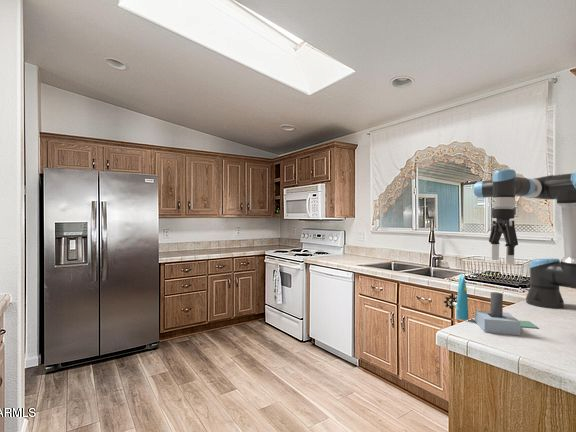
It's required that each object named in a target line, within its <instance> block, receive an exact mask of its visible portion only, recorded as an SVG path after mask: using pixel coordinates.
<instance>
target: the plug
mask: <svg viewBox="0 0 576 432" xmlns="http://www.w3.org/2000/svg"><path fill="white" fill-rule="evenodd" d="M503 296H504V295H503V293H501V292H498V291H497V292H496V291H494V292H493V291H491V292H490V311H491V317H495V318H503V312H504V311H503V310H504V309H503V300H504V299H503Z"/></svg>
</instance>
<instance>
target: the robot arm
mask: <svg viewBox="0 0 576 432" xmlns="http://www.w3.org/2000/svg"><path fill="white" fill-rule="evenodd" d="M473 194H474V196H475V197H477V198H484V199H485V198H492V199H491V201H490V202H491V203H492V206H491V207H492V208H493V209H492V210H491V211H492V212H491V218H492V219H496V220H492V222H491V223H492V225H491V230H490V233H489V239H488V243H490V260H491V261H499V259H500V244H501V243H500V240H501V237H502V236H503V238H504V241H505V243H506V244H504V247H505V252H504V253H505V254H504V255H505V258H504V264H505V265H515V250H516V249H515V248H516V246H518V245H519V242H518V236H517V232H516V226H515V220H512V219H515V217H516V216H515V214H516V213H515V209H514V208H515V207H516V197H525V198H527V199H540V200H556V204H557V205H558V206H560V208H561V222H562V223H561V224H562V237H563V251H564V253H563V254H564V257H563V258H561V259H559V258H535V259H532V260H530V264H529V278H530V279H529V285H530V286H529V289H528V292H527V293H526V297H525V302H526V303H527V304H529V305H533V306H536V307H542V308H548V309H562V308H565V301H564V299H563V297H562V294H561V291H560V287H562V288H563V287H564V288H567V289H568V288H570V289H575V290H576V172H573V173H565V174H564V173H561V174H554V175H546V176H540V177H534V178H528V177H521V176H517V173H516V170H514V169H509V168H506V169H497V170H495V171H494V172H493V176H492V180H491V179H490V180H480V181H477V182H476V183H474V185H473Z"/></svg>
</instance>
